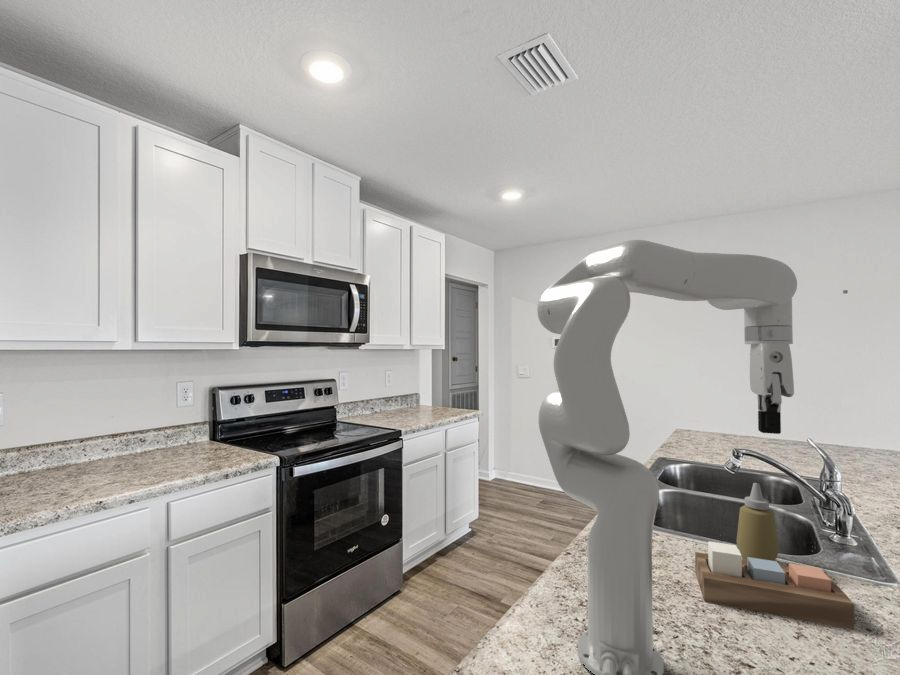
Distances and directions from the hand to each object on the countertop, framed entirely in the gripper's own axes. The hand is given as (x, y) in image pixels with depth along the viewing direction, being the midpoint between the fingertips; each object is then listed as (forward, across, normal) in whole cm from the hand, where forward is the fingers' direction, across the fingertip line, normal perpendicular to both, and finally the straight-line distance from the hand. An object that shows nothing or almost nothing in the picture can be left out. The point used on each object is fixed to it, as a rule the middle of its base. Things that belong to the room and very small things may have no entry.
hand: (769, 432), depth 84 cm
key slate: (+32, +4, 0) cm, 32 cm away
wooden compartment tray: (+33, +4, 0) cm, 33 cm away
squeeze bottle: (+33, +21, -2) cm, 39 cm away
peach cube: (+32, +4, -7) cm, 33 cm away
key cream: (+30, +4, +7) cm, 31 cm away
